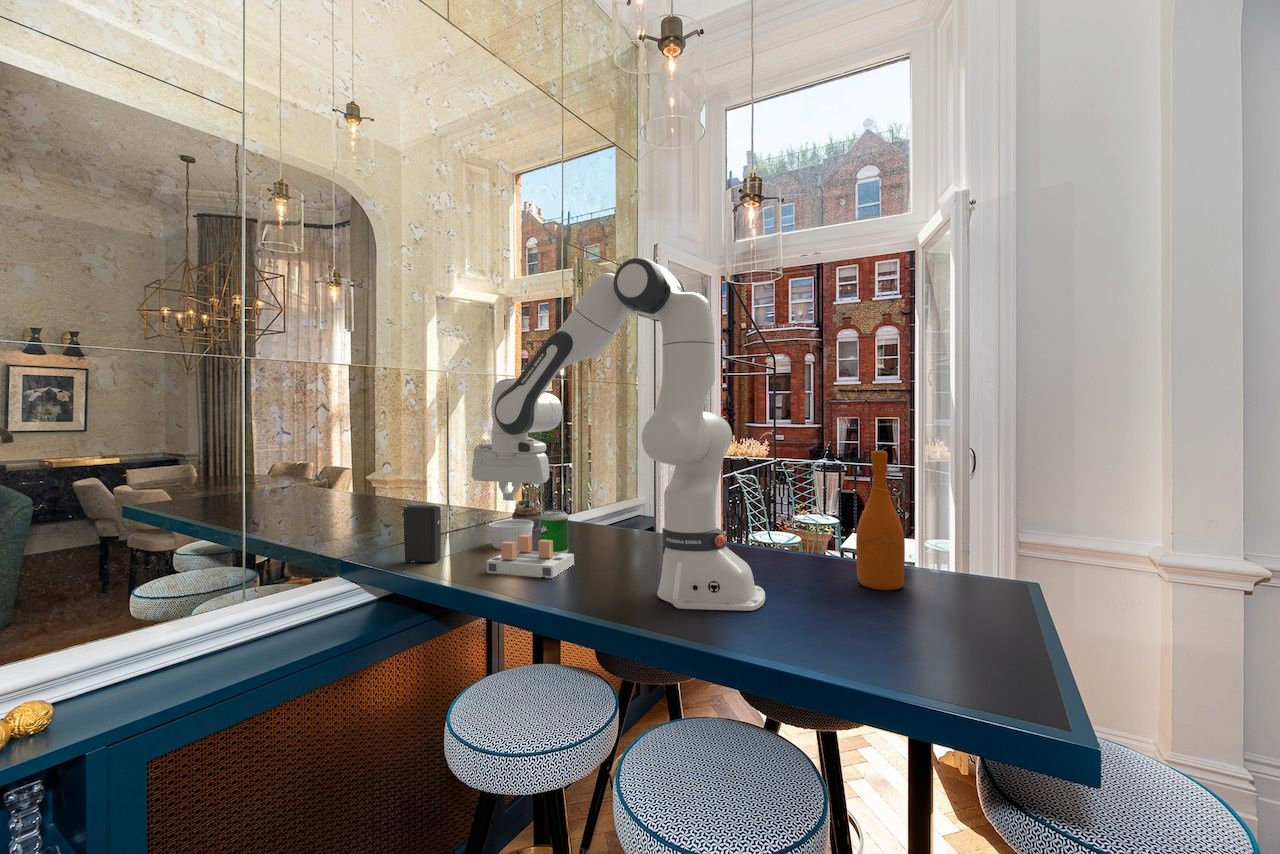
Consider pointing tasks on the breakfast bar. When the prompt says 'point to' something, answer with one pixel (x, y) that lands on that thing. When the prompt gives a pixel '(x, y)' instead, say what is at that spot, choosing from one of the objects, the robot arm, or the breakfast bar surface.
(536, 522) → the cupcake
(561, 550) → the soda can
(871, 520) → the wine bottle
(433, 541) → the card reader
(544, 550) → the slider middle
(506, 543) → the slider near
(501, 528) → the ramekin
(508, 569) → the white base
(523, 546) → the slider far
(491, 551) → the breakfast bar surface
